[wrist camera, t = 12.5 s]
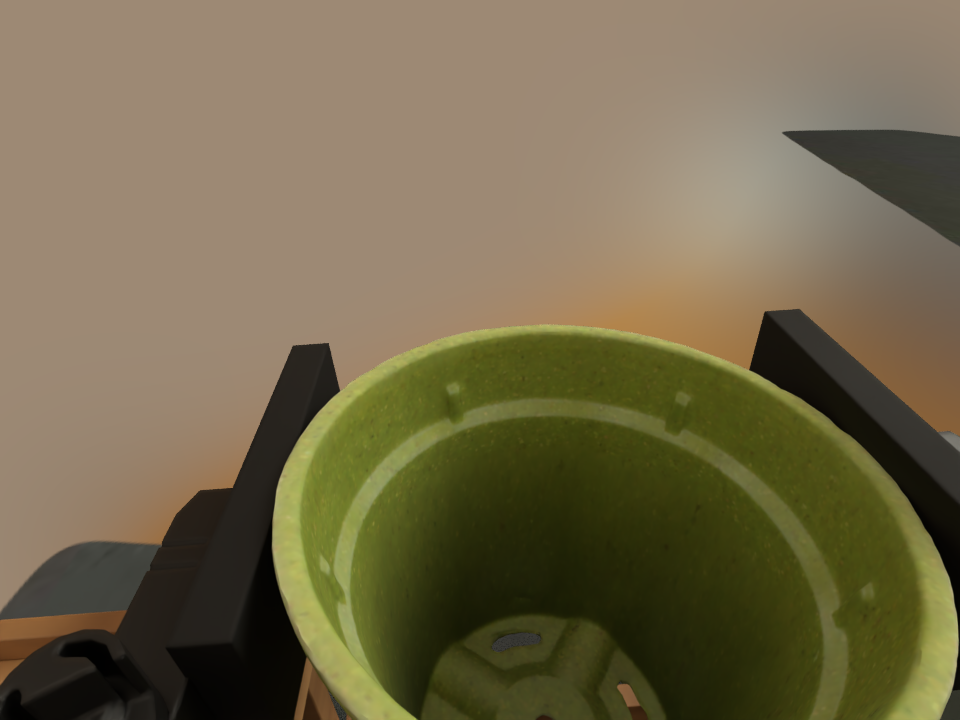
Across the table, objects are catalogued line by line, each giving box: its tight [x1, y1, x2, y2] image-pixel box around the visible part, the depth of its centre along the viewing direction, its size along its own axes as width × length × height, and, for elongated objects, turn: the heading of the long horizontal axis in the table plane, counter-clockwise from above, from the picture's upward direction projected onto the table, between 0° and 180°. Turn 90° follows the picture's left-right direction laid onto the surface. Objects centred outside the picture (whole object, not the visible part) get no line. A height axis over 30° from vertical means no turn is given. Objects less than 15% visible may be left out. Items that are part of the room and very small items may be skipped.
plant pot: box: [272, 325, 959, 720], centre depth 11 cm, size 9×9×9 cm
